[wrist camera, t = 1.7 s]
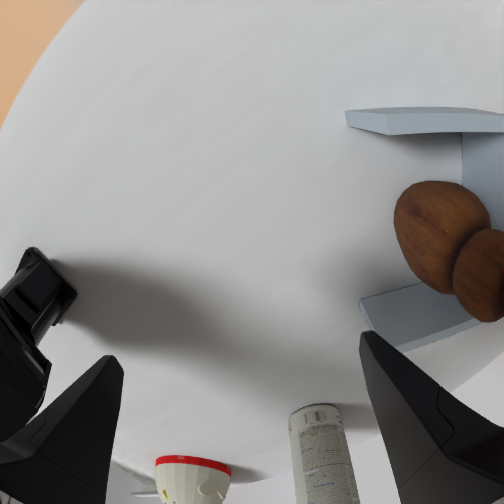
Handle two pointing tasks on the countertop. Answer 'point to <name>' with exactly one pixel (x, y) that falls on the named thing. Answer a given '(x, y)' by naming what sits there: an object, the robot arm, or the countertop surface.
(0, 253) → the countertop surface
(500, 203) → the cubby
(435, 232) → the wooden figurine
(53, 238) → the countertop surface
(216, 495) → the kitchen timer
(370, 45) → the countertop surface
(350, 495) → the spray can
